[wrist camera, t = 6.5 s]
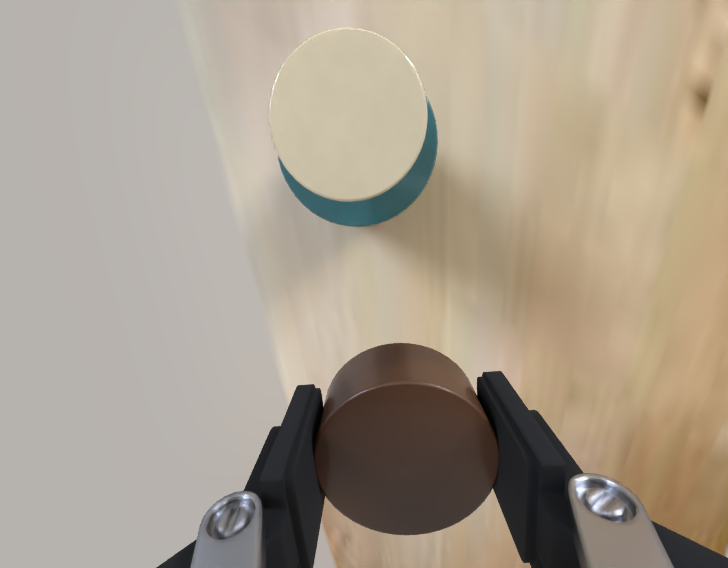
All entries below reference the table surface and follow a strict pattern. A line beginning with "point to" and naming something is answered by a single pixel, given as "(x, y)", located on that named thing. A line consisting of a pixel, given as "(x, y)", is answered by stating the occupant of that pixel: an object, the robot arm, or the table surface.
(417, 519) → the brown round puck
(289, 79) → the bottle
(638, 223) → the table surface
